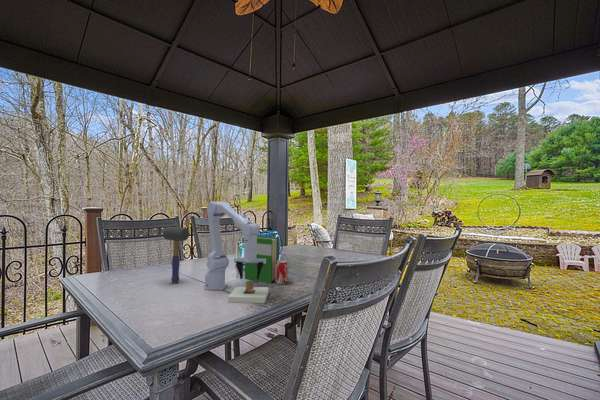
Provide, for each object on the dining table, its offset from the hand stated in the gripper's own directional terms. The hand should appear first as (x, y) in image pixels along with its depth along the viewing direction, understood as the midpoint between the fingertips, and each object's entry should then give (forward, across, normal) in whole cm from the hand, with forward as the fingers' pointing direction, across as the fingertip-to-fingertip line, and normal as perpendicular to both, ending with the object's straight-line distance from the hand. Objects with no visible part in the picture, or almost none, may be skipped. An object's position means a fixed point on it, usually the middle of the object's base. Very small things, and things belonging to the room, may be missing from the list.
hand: (249, 278), depth 128 cm
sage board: (+9, 0, 0) cm, 9 cm away
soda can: (+9, +13, +23) cm, 28 cm away
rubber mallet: (+9, -44, +20) cm, 49 cm away
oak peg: (+9, 0, 0) cm, 9 cm away
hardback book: (+9, +1, +29) cm, 30 cm away
